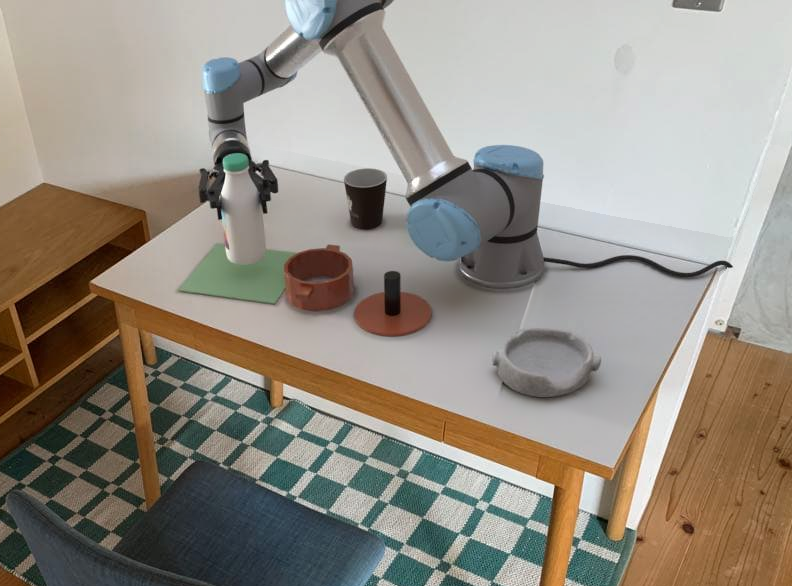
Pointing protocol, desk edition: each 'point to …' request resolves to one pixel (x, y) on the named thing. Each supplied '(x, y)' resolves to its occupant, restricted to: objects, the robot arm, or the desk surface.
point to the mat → (239, 277)
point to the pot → (319, 265)
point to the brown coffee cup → (366, 197)
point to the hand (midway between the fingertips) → (242, 209)
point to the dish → (545, 362)
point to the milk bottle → (241, 213)
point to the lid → (392, 310)
